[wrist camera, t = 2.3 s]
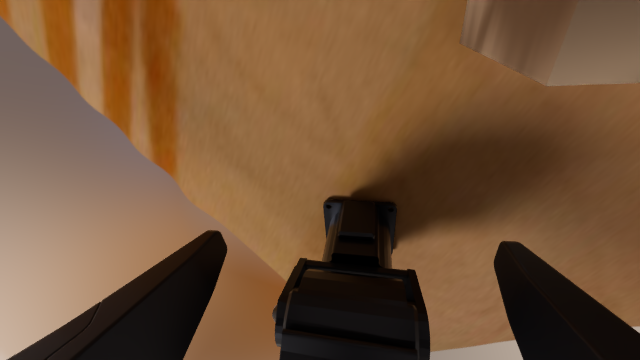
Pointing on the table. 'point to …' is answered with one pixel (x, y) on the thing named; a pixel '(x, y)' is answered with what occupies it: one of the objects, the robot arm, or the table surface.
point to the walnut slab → (558, 38)
